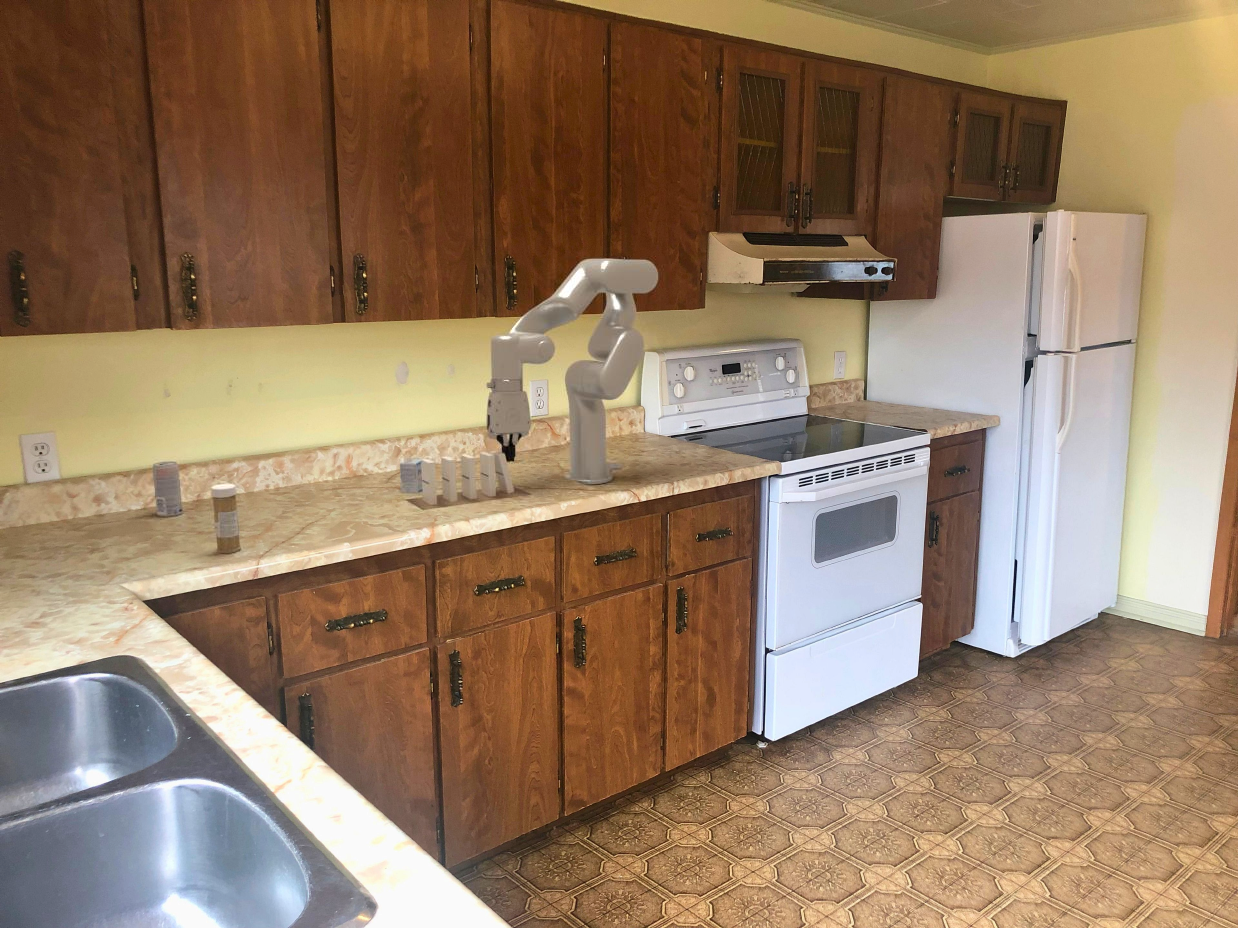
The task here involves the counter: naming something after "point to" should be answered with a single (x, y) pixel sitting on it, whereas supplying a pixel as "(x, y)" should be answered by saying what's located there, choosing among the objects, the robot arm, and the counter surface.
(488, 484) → the domino
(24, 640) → the counter surface
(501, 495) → the walnut board
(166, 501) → the energy drink
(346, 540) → the counter surface
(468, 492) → the domino
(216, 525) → the sprinkles bottle
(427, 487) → the domino
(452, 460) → the domino
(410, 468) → the medicine box
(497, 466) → the domino
